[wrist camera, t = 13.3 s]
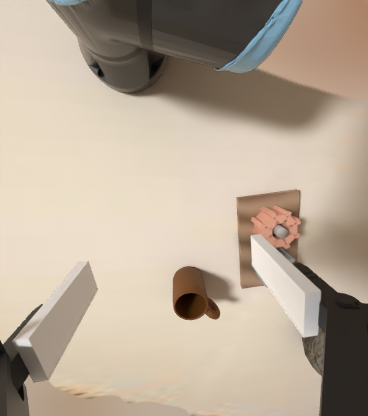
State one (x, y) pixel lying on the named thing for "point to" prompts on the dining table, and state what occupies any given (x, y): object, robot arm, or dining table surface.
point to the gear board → (245, 212)
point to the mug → (192, 295)
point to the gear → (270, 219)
